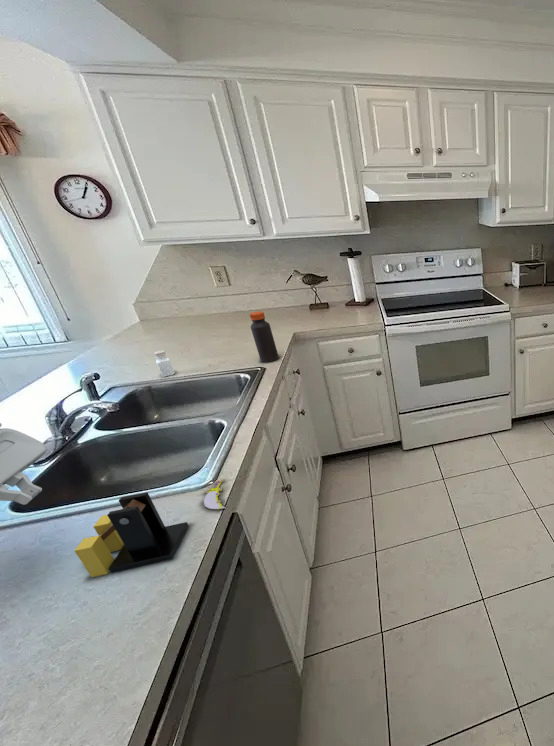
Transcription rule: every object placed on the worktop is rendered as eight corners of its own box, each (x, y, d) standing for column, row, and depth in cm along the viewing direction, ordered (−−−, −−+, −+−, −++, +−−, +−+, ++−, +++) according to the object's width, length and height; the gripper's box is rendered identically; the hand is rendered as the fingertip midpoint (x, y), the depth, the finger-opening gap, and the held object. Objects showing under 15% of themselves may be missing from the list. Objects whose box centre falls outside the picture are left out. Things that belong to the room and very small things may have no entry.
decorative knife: (200, 516, 90) (226, 508, 92) (199, 514, 90) (225, 506, 92) (207, 484, 100) (231, 477, 101) (207, 483, 99) (230, 476, 101)
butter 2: (91, 577, 77) (73, 550, 74) (100, 564, 79) (83, 538, 76) (107, 574, 77) (90, 547, 74) (115, 561, 80) (99, 534, 77)
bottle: (257, 361, 169) (242, 315, 160) (270, 355, 175) (256, 310, 166) (269, 363, 167) (256, 316, 158) (282, 357, 173) (270, 311, 164)
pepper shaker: (162, 377, 157) (153, 354, 153) (161, 374, 160) (152, 351, 156) (175, 374, 160) (166, 351, 156) (174, 371, 162) (164, 349, 158)
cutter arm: (86, 564, 78) (68, 558, 77) (95, 552, 81) (78, 545, 79) (141, 514, 78) (125, 507, 76) (148, 504, 80) (132, 496, 79)
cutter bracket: (110, 573, 77) (81, 526, 72) (133, 537, 85) (109, 493, 80) (172, 559, 80) (148, 513, 75) (189, 525, 88) (168, 482, 83)
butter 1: (108, 552, 82) (92, 526, 79) (116, 541, 84) (101, 515, 81) (123, 549, 82) (108, 523, 79) (130, 538, 85) (116, 512, 82)
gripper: (-121, 480, 57) (-3, 525, 63) (0, 414, 76) (82, 454, 82) (-149, 510, 58) (-29, 552, 64) (-22, 437, 76) (62, 476, 82)
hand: (34, 497), depth 73 cm, fingers closed
